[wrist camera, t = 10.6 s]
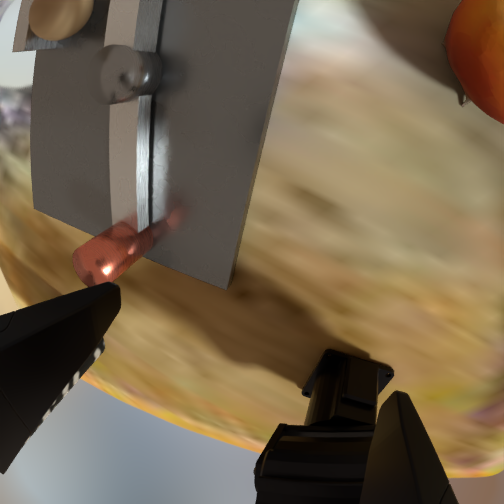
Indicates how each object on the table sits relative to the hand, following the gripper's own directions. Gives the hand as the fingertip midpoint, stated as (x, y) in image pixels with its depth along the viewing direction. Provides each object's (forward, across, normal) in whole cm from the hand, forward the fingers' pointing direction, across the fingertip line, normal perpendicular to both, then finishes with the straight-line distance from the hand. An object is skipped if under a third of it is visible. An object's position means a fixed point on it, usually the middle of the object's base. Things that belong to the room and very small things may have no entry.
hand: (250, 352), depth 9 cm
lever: (+12, +13, -2) cm, 17 cm away
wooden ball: (+12, +20, -11) cm, 26 cm away
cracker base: (+13, +15, -3) cm, 20 cm away
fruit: (+13, -8, -13) cm, 20 cm away
